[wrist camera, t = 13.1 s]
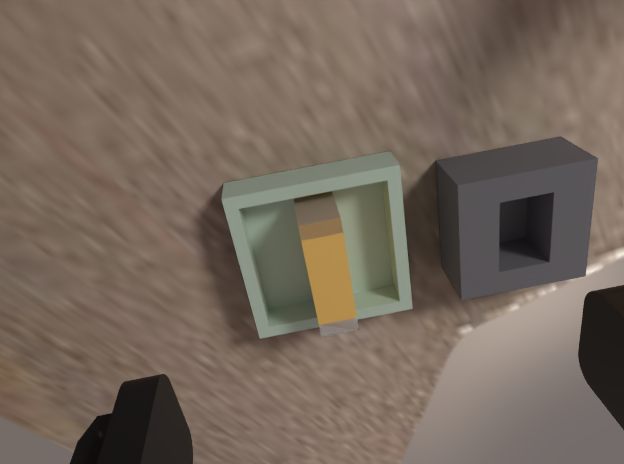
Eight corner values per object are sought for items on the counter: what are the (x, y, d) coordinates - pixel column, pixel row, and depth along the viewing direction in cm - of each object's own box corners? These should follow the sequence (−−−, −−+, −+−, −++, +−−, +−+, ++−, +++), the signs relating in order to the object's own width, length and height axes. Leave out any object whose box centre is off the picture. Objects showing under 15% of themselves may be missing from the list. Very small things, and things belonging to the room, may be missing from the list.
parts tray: (259, 316, 46) (259, 338, 43) (223, 183, 40) (221, 199, 37) (403, 288, 46) (412, 308, 43) (390, 151, 40) (399, 164, 37)
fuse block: (441, 267, 45) (461, 300, 41) (435, 160, 41) (457, 185, 36) (553, 245, 46) (585, 276, 41) (560, 136, 41) (597, 158, 36)
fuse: (321, 337, 41) (298, 226, 36) (314, 300, 45) (293, 196, 40) (359, 329, 41) (340, 217, 36) (348, 293, 45) (331, 189, 40)
